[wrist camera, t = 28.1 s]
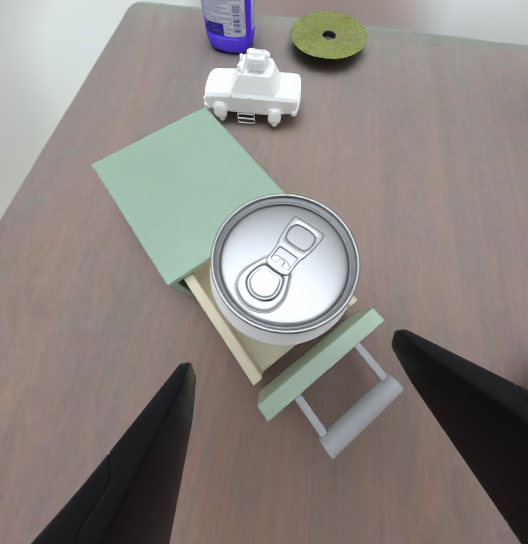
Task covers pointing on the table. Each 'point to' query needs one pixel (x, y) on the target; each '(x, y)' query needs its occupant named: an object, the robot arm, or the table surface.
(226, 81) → the toy car
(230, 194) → the cabinet
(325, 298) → the can
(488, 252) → the table surface
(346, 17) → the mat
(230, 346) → the drawer
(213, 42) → the bottle
